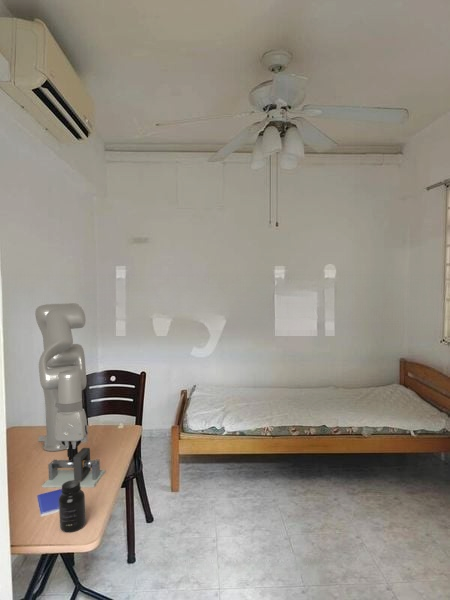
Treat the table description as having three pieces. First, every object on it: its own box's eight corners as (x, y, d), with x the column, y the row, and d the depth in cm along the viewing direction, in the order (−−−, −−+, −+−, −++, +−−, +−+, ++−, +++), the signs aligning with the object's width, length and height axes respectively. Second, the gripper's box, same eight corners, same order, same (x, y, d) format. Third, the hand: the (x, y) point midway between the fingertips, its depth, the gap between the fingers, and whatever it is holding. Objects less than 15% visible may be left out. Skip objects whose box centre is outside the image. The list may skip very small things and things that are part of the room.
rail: (49, 480, 139) (48, 463, 139) (54, 474, 143) (53, 458, 143) (95, 479, 138) (95, 462, 138) (100, 474, 142) (99, 457, 142)
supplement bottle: (64, 519, 116) (62, 478, 116) (88, 518, 117) (87, 477, 116) (56, 534, 109) (54, 490, 109) (82, 532, 110) (80, 489, 110)
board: (42, 487, 136) (42, 484, 136) (57, 472, 147) (57, 469, 146) (93, 487, 135) (93, 484, 135) (105, 472, 146) (105, 469, 146)
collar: (74, 480, 136) (73, 457, 136) (83, 470, 144) (82, 447, 144) (81, 480, 136) (80, 457, 136) (90, 469, 144) (89, 447, 144)
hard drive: (70, 505, 122) (64, 487, 133) (40, 513, 118) (37, 494, 129) (70, 510, 122) (64, 492, 133) (41, 518, 118) (37, 499, 129)
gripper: (44, 410, 136) (46, 463, 137) (87, 409, 135) (89, 463, 136) (54, 403, 144) (56, 454, 144) (95, 403, 143) (98, 454, 144)
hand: (72, 458), depth 140 cm, fingers closed
